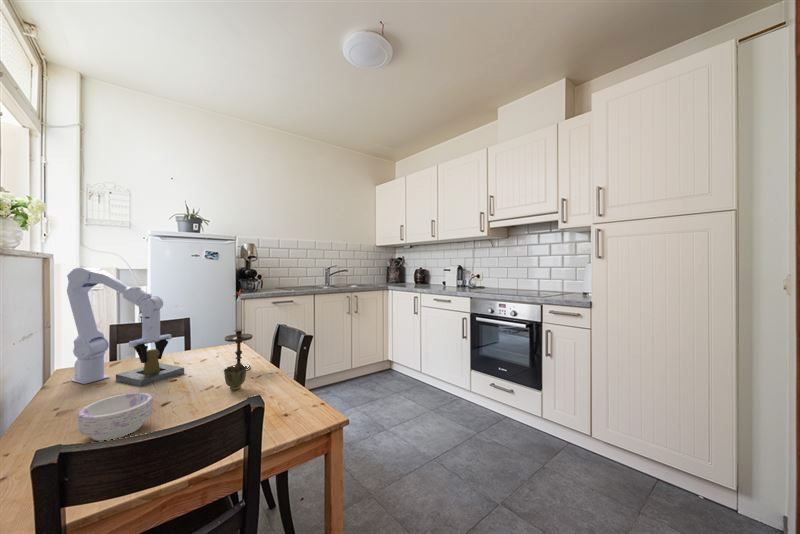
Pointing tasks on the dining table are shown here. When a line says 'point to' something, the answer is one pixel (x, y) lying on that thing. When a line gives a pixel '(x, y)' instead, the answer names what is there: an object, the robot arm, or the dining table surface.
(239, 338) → the candlestick
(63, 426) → the dining table surface
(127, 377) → the plate
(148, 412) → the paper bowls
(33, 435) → the dining table surface
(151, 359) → the olive tapered cylinder
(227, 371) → the cup
